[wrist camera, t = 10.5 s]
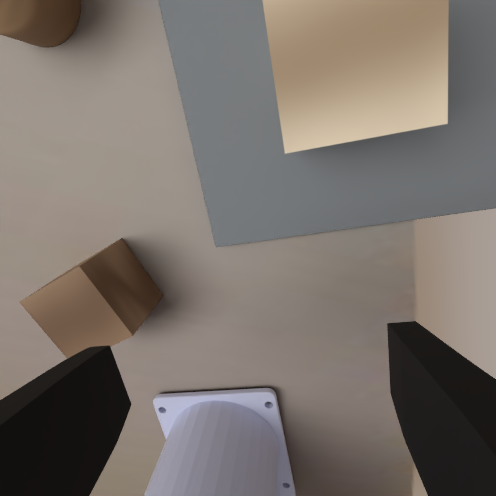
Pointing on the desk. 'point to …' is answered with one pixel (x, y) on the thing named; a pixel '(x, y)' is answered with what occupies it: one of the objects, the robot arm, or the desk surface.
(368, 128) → the maple block
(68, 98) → the desk surface
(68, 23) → the oak cylinder
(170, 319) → the desk surface
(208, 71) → the mat
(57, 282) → the walnut cube
